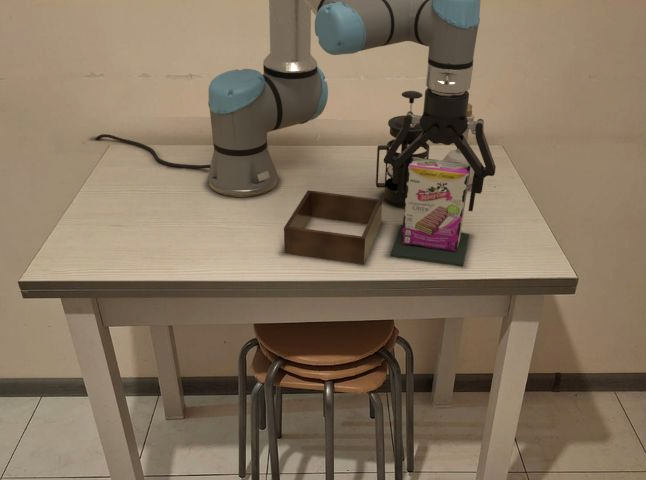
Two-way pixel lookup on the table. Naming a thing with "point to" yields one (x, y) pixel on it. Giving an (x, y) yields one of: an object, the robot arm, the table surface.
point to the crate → (329, 242)
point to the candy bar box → (435, 203)
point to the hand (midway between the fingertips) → (434, 203)
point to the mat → (430, 251)
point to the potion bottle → (456, 154)
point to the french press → (412, 134)
